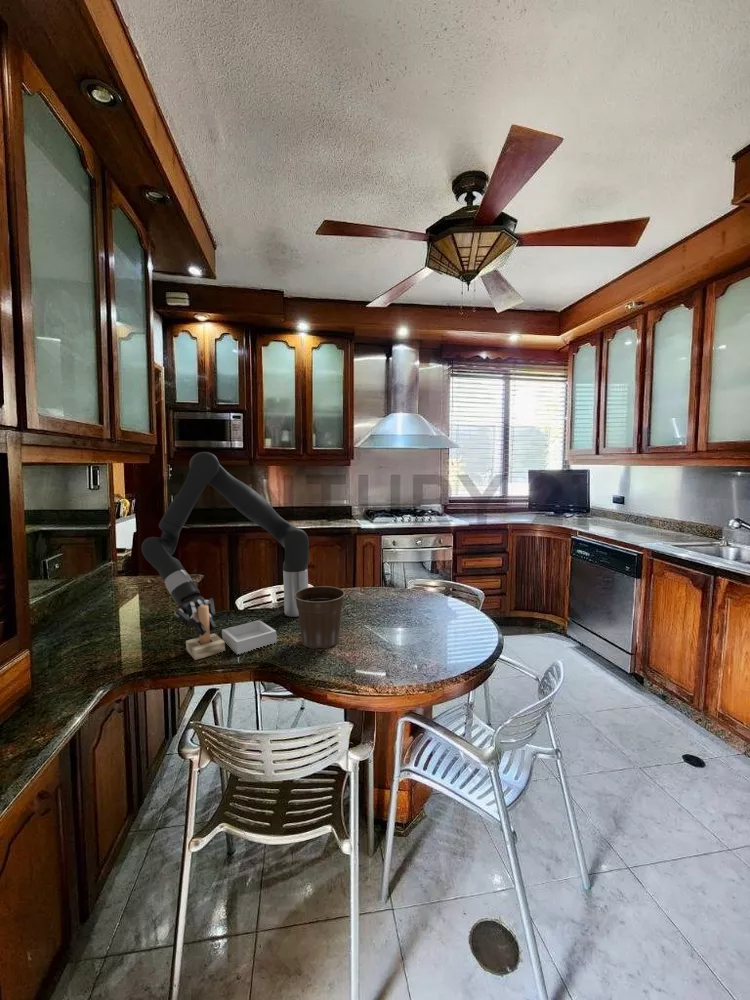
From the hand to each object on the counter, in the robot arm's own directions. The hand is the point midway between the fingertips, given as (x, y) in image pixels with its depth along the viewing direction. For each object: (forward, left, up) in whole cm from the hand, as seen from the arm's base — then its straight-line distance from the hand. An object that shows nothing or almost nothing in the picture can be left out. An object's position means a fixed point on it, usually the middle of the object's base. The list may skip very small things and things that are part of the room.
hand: (208, 631), depth 133 cm
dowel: (+1, -2, -6) cm, 7 cm away
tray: (-12, +1, -7) cm, 14 cm away
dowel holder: (+1, -2, -7) cm, 7 cm away
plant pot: (-30, +16, -7) cm, 35 cm away
